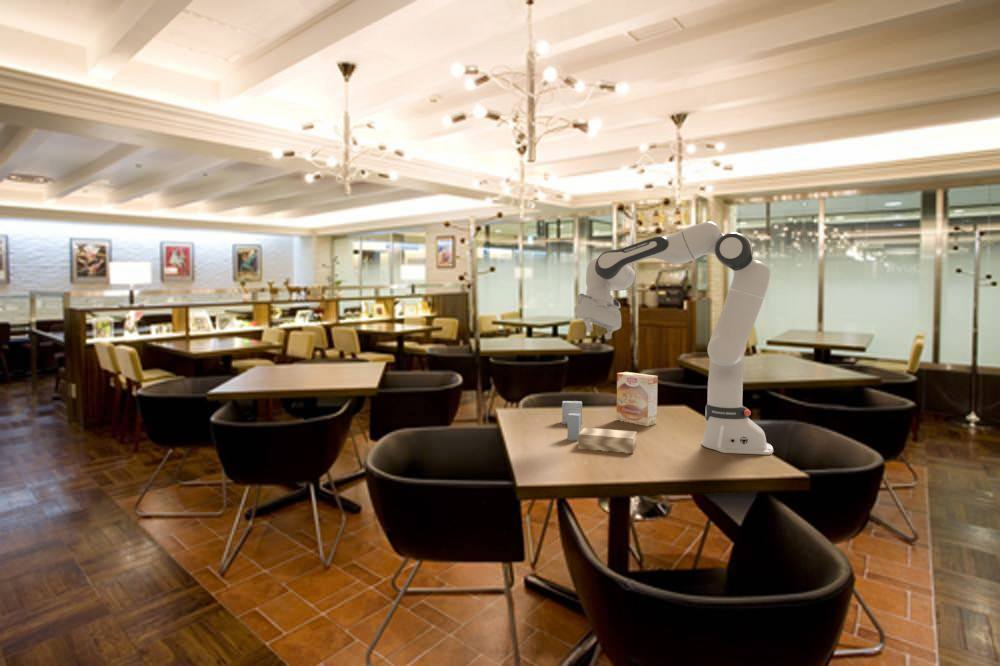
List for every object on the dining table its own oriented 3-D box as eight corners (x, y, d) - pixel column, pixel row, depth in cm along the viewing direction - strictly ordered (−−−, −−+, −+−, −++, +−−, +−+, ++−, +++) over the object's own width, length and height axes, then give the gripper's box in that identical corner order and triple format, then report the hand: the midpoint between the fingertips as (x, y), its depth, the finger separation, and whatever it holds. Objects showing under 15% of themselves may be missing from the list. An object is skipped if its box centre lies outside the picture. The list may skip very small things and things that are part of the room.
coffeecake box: (615, 420, 236) (616, 373, 234) (625, 417, 241) (626, 371, 239) (647, 426, 225) (648, 377, 223) (657, 423, 230) (658, 375, 228)
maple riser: (636, 446, 197) (636, 431, 196) (633, 453, 187) (633, 438, 187) (584, 441, 203) (584, 427, 202) (578, 448, 193) (578, 434, 193)
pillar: (580, 438, 207) (580, 413, 206) (578, 440, 204) (578, 415, 203) (569, 437, 208) (569, 412, 207) (567, 439, 205) (567, 414, 204)
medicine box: (581, 422, 232) (581, 401, 232) (582, 424, 228) (582, 403, 227) (561, 421, 233) (562, 400, 232) (562, 424, 229) (562, 402, 228)
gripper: (584, 288, 204) (584, 324, 199) (623, 305, 215) (625, 339, 210) (571, 294, 209) (571, 330, 203) (611, 310, 220) (612, 344, 215)
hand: (599, 335), depth 207 cm, fingers open, 8 cm apart
